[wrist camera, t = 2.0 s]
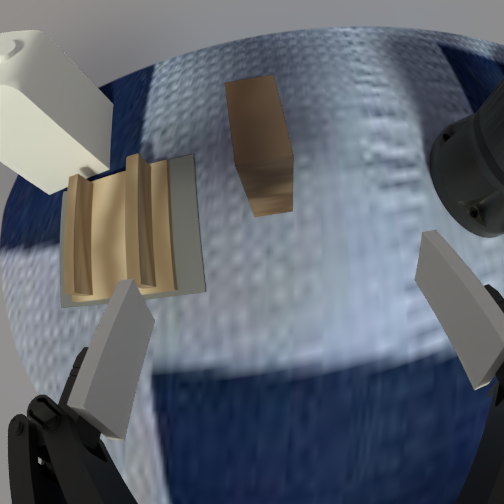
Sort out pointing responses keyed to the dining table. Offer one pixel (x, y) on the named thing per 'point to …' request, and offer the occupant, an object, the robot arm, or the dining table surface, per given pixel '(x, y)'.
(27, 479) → the robot arm
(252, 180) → the brown wooden block
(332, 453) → the dining table surface
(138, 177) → the rack
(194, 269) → the mat
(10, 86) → the milk
